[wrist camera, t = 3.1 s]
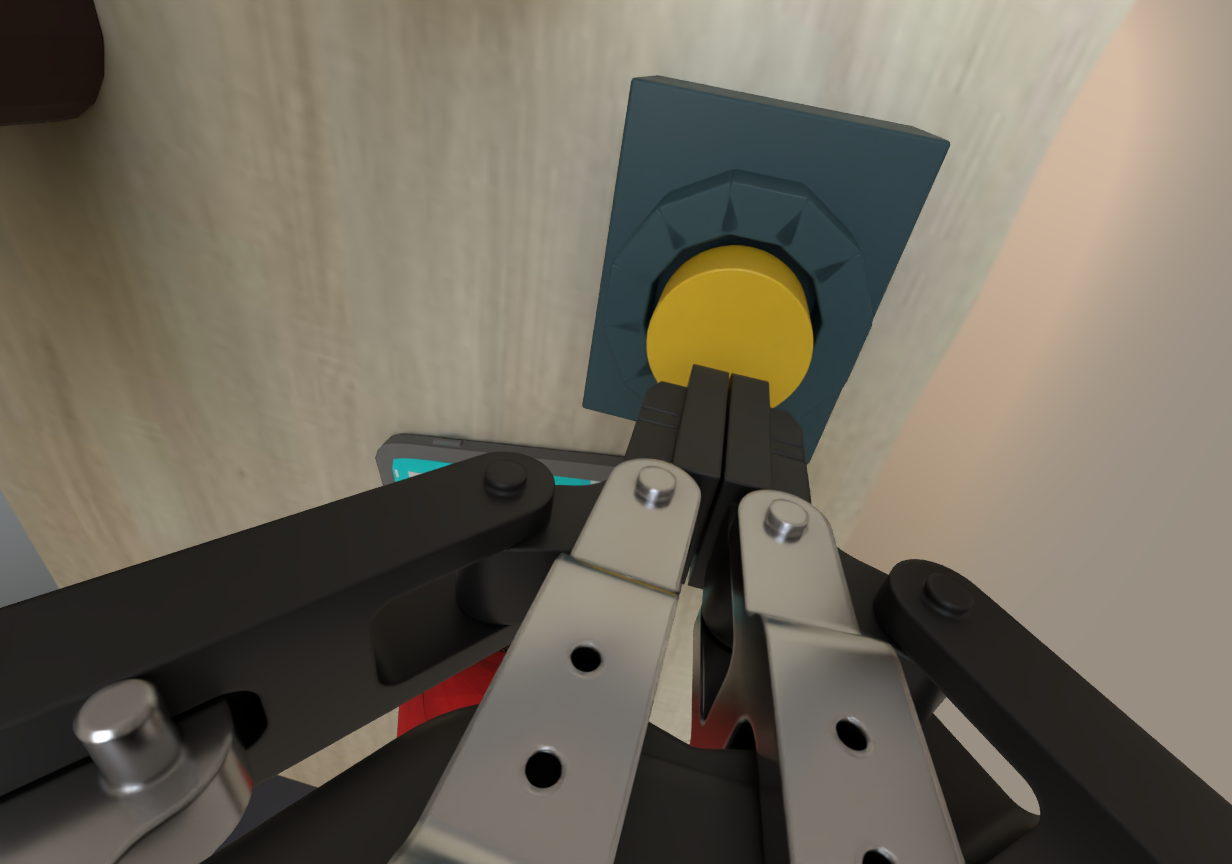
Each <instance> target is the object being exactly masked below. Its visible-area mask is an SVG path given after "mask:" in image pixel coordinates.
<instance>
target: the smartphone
mask: <svg viewBox="0 0 1232 864" xmlns="http://www.w3.org/2000/svg"><path fill="white" fill-rule="evenodd" d="M503 451H506V452H515V453H521V454H524V455H528V456H530V457H533V458H535V459H537V460H538V461H540V462H542V463H543V464H544V465H545V466H547V468H548V469H549V470H550V471H551V473H552V475H553V476H554V480H555V485H589V484H595V483H599V482H602V481H604V480H607V479H608V478H609V475H610V473H611V472H612V470H613V469H614V468H615V467H616V466H617V465H619V464H621V463H622V462H623V460H624V457H615V456H606V455H596V454H587V453H578V452H568V451H559V450H550V449H540V448H531V447H522V446H512V445H503V444H494V443H484V442H475V441H466V440H456V439H447V438H438V437H428V436H419V435H396V436H391V437H390V438H389V439H388V440H387V441H386V442H385V443H384V444H383V445H382V446H381V447H380V448H379V449H378V451H377V454H376V457H375V459H376V462H377V466H378V469H379V472H380V476H381V479H382V483H383V486H384V485H387V484H391V483H394V482H397V481H400V480H403V479H406V478H409V477H413V476H416V475H419V474H422V473H425V472H428V471H431V470H434V469H438V468H441V467H444V466H447V465H450V464H453V463H456V462H460V461H463V460H466V459H469V458H472V457H475V456H478V455H482V454H486V453H490V452H503ZM681 586H682V584H681V583H680V585H679V589H678V591H679V592H681Z"/></svg>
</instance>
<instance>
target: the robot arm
mask: <svg viewBox="0 0 1232 864" xmlns="http://www.w3.org/2000/svg"><path fill="white" fill-rule="evenodd" d="M803 446H804V441H803V434H802V428H801V427H800V426H799V424H798V423H797V422H796V420H795V419H794V418H793V416H792V415H791V414H790V412H788V411H783V410H779V409H775V408H771V407H770V393H769V382H768V381H764V380H760V379H756V378H752V377H748V376H744V375H739V374H735V373H731V375H730V378H729V372H727V371H722V370H718V369H714V368H710V367H706V366H702V365H697V364H693V366H692V370H691V373H690V377H689V381H688V384H687V387H685V386H681V385H677V384H672V383H668V382H664V381H660V382H659V383H658V384H656V385H655V386H653V387H652V388H650V389H649V390H647V392H646V395H645V398H644V401H643V404H642V408H641V410H640V413H639V416H638V420H637V422H636V425H635V428H634V431H633V434H632V437H631V440H630V442H629V445H628V448H627V451H626V454H625V457H624V460H623V462H622V463H621V464H619V465H617V466H616V467H615V468H614V469H613V470H612V472H611V473H610V475H609V478H608V479H607V480H604V481H602V482H599V483H595V484H589V485H555V480H554V476H553V475H552V473H551V471H550V470H549V469H548V468H547V466H545V465H544V464H543V463H542V462H540V461H538V460H537V459H535V458H533V457H530V456H528V455H524V454H521V453H515V452H506V451H503V452H490V453H486V454H482V455H478V456H475V457H472V458H469V459H466V460H463V461H460V462H456V463H453V464H450V465H447V466H444V467H441V468H438V469H434V470H431V471H428V472H425V473H422V474H419V475H416V476H413V477H409V478H406V479H403V480H400V481H397V482H394V483H391V484H387V485H384V486H381V487H378V488H375V489H372V490H369V491H365V492H362V493H359V494H356V495H353V496H350V497H347V498H344V499H340V500H337V501H334V502H331V503H328V504H325V505H322V506H318V507H315V508H312V509H309V510H306V511H303V512H300V513H297V514H293V515H290V516H287V517H284V518H281V519H278V520H275V521H271V522H268V523H265V524H262V525H259V526H256V527H253V528H249V529H246V530H243V531H240V532H237V533H234V534H231V535H228V536H224V537H221V538H218V539H215V540H212V541H209V542H206V543H202V544H199V545H196V546H193V547H190V548H187V549H184V550H180V551H177V552H174V553H171V554H168V555H165V556H162V557H159V558H155V559H152V560H149V561H146V562H143V563H140V564H137V565H133V566H130V567H127V568H124V569H121V570H118V571H115V572H111V573H108V574H105V575H102V576H99V577H96V578H93V579H90V580H86V581H83V582H80V583H77V584H74V585H71V586H68V587H64V588H61V589H58V590H55V591H52V592H49V593H46V594H43V595H40V596H36V597H33V598H30V599H27V600H24V601H21V602H17V603H15V604H11V605H8V606H5V607H2V608H0V864H1232V805H1231V804H1230V803H1229V802H1228V801H1226V800H1225V799H1224V798H1223V797H1222V796H1221V795H1219V794H1218V793H1217V792H1216V791H1215V790H1214V789H1212V788H1211V787H1210V786H1209V785H1208V784H1206V783H1205V782H1204V781H1203V780H1202V779H1201V778H1200V777H1198V776H1197V775H1196V774H1195V773H1194V772H1192V771H1191V770H1190V769H1189V768H1188V767H1187V766H1186V765H1184V764H1183V763H1182V762H1181V761H1180V760H1179V759H1177V758H1176V757H1175V756H1174V755H1173V754H1172V753H1170V752H1169V751H1168V750H1167V749H1166V748H1165V747H1163V746H1162V745H1161V744H1160V743H1159V742H1157V741H1156V740H1155V739H1154V738H1153V737H1152V736H1150V735H1149V734H1148V733H1147V732H1146V731H1145V730H1144V729H1142V728H1141V727H1140V726H1139V725H1138V724H1137V723H1135V722H1134V721H1133V720H1132V719H1131V718H1129V717H1128V716H1127V715H1126V714H1125V713H1124V712H1123V711H1121V710H1120V709H1119V708H1118V707H1117V706H1116V705H1114V704H1113V703H1112V702H1111V701H1110V700H1109V699H1107V698H1106V697H1105V696H1104V695H1103V694H1102V693H1100V692H1099V691H1098V690H1097V689H1096V688H1095V687H1093V686H1092V685H1091V684H1090V683H1089V682H1087V681H1086V680H1085V679H1084V678H1083V677H1082V676H1080V675H1079V674H1078V673H1077V672H1076V671H1075V670H1074V669H1072V668H1071V667H1070V666H1069V665H1068V664H1067V663H1065V662H1064V661H1063V660H1062V659H1061V658H1060V657H1058V656H1057V655H1056V654H1055V653H1054V652H1053V651H1051V650H1050V649H1049V648H1048V647H1047V646H1046V645H1044V644H1043V643H1042V642H1041V641H1040V640H1039V639H1037V638H1036V637H1035V636H1034V635H1033V634H1031V633H1030V632H1029V631H1028V630H1027V629H1026V628H1025V627H1023V626H1022V625H1021V624H1020V623H1019V622H1018V621H1016V620H1015V619H1014V618H1013V617H1012V616H1010V615H1009V614H1008V613H1007V612H1006V611H1005V610H1004V609H1002V608H1001V607H1000V606H999V605H998V604H997V603H995V602H994V601H993V600H992V599H991V598H990V597H988V596H987V595H986V594H985V593H984V592H982V591H981V590H980V589H979V588H978V587H976V585H974V584H973V583H972V582H971V581H969V580H968V579H966V578H965V577H963V576H962V575H960V574H959V573H957V572H955V571H953V570H951V569H949V568H947V567H945V566H943V565H940V564H937V563H934V562H930V561H926V560H919V559H909V560H905V561H901V562H899V563H897V564H896V565H895V566H894V567H893V569H892V570H891V572H890V574H889V575H888V574H886V573H883V572H881V571H880V570H878V569H876V568H873V567H871V566H869V565H867V564H865V563H863V562H861V561H859V560H857V559H855V558H853V557H852V556H850V555H848V554H847V553H845V552H844V551H842V550H841V549H839V548H838V547H837V545H836V541H835V538H834V534H833V531H832V528H831V525H830V524H829V522H828V520H827V519H826V518H825V517H824V515H823V514H822V513H821V512H820V511H819V510H818V509H817V508H815V507H814V506H813V505H812V504H811V496H810V488H809V480H808V473H807V465H806V462H805V459H806V457H805V449H804V448H803ZM690 565H691V566H690ZM689 568H690V574H689V581H688V585H689V586H693V587H696V588H700V589H703V599H702V605H701V608H700V610H699V613H698V616H697V618H696V621H695V624H694V630H693V679H692V728H691V741H690V745H689V744H687V743H685V742H683V741H681V740H680V739H678V738H676V737H674V736H673V735H671V734H669V733H667V732H666V731H664V730H662V729H660V728H659V727H657V726H655V725H654V724H652V723H650V722H649V718H650V714H651V709H652V705H653V701H654V697H655V693H656V689H657V685H658V681H659V677H660V673H661V669H662V665H663V661H664V657H665V653H666V649H667V645H668V641H669V637H670V633H671V629H672V625H673V620H674V616H675V612H676V608H677V604H678V600H679V594H680V592H679V591H678V589H679V585H680V583H681V584H684V583H685V580H686V577H687V574H688V571H689ZM509 644H511V645H510V647H509V649H508V651H507V653H506V655H505V656H504V658H503V660H502V662H501V664H500V666H499V668H498V670H497V672H496V674H495V675H494V677H493V679H492V681H491V683H490V685H489V687H488V689H487V691H486V693H485V695H484V696H483V698H482V700H481V702H480V704H476V705H471V706H467V707H462V708H459V709H456V710H453V711H450V712H447V713H444V714H441V715H438V716H436V717H434V718H432V719H430V720H428V721H426V722H424V723H422V724H419V725H417V726H416V727H414V728H412V729H411V730H409V731H407V732H405V733H404V734H402V735H401V736H399V737H397V738H396V739H394V740H393V741H391V742H390V743H388V744H386V745H385V746H383V747H382V748H380V749H378V750H377V751H375V752H374V753H372V754H371V755H369V756H367V757H366V758H364V759H363V760H361V761H360V762H358V763H356V764H355V765H353V766H352V767H350V768H349V769H347V770H345V771H344V772H342V773H341V774H339V775H338V776H336V777H334V778H333V779H331V780H330V781H328V782H327V783H325V784H323V785H322V786H320V787H319V788H317V789H316V790H314V791H312V792H311V793H309V794H308V795H306V796H305V797H303V798H301V799H300V800H298V801H297V802H295V803H294V804H292V805H290V806H289V807H287V808H286V809H284V810H283V811H281V812H279V813H278V814H276V815H275V816H273V817H271V818H270V819H268V820H267V821H265V822H264V823H262V824H261V825H259V826H258V827H256V828H254V829H253V830H251V831H250V832H248V833H247V834H245V835H243V836H242V837H240V838H239V839H237V840H235V841H234V842H232V843H230V844H229V845H227V846H226V847H224V848H223V849H221V850H220V851H218V852H216V853H215V854H213V855H212V853H213V852H214V851H215V850H216V849H217V848H218V847H219V846H220V845H221V844H222V843H223V842H224V840H226V838H227V837H228V836H229V835H230V834H231V833H232V831H233V830H234V828H235V827H236V825H237V824H238V823H239V821H240V819H241V817H242V815H243V813H244V811H245V810H246V808H247V805H248V802H249V799H250V797H251V792H252V788H254V787H255V786H257V785H259V784H261V783H263V782H264V781H266V780H268V779H270V778H272V777H273V776H275V775H277V774H279V773H281V772H282V771H284V770H286V769H288V768H290V767H291V766H293V765H295V764H297V763H299V762H300V761H302V760H304V759H306V758H308V757H309V756H311V755H313V754H315V753H316V752H318V751H320V750H322V749H324V748H325V747H327V746H329V745H331V744H333V743H334V742H336V741H338V740H340V739H341V738H343V737H345V736H347V735H349V734H350V733H352V732H354V731H356V730H358V729H359V728H361V727H363V726H365V725H366V724H368V723H370V722H372V721H374V720H375V719H377V718H379V717H381V716H383V715H384V714H386V713H388V712H390V711H391V710H393V709H395V708H397V707H399V706H400V705H402V704H404V703H406V702H408V701H409V700H411V699H413V698H415V697H416V696H418V695H420V694H422V693H424V692H425V691H427V690H429V689H431V688H433V687H434V686H436V685H438V684H440V683H441V682H443V681H445V680H447V679H449V678H450V677H452V676H454V675H456V674H458V673H459V672H461V671H463V670H465V669H466V668H468V667H470V666H472V665H474V664H475V663H477V662H479V661H481V660H483V659H484V658H486V657H488V656H490V655H491V654H493V653H495V652H497V651H499V650H500V649H502V648H504V647H506V646H508V645H509ZM946 697H947V698H948V699H949V700H950V701H951V702H952V703H953V704H954V705H955V706H956V707H957V708H958V709H959V710H960V711H961V712H962V713H963V714H964V716H965V717H966V718H967V719H968V720H969V721H970V722H971V723H972V724H973V725H974V726H975V727H976V728H977V729H978V730H979V731H980V733H982V735H983V736H984V737H985V738H986V739H987V740H988V741H989V742H990V743H991V744H992V745H993V746H994V747H995V748H996V749H997V750H998V752H999V753H1000V754H1001V755H1002V756H1003V757H1004V758H1005V759H1006V760H1007V761H1008V762H1009V763H1010V764H1011V765H1012V766H1013V767H1014V768H1015V769H1016V771H1017V772H1018V773H1019V774H1020V775H1021V776H1022V777H1023V778H1024V779H1025V780H1026V782H1027V783H1028V784H1029V786H1030V787H1031V788H1032V790H1033V792H1034V794H1035V795H1036V798H1037V800H1038V803H1039V807H1040V815H1035V814H1032V813H1030V812H1028V811H1026V810H1024V809H1023V808H1021V807H1020V806H1018V805H1017V804H1016V803H1015V802H1014V801H1013V800H1012V799H1011V798H1010V797H1009V796H1008V795H1007V794H1006V793H1005V792H1004V791H1003V790H1002V788H1001V787H1000V786H999V785H998V784H997V783H996V782H995V781H994V780H993V779H992V777H991V776H989V774H988V773H987V772H986V771H985V770H984V769H983V768H982V767H981V765H979V763H978V762H977V761H976V760H975V759H974V758H973V757H972V755H971V754H970V753H969V752H968V751H967V750H966V749H965V748H964V747H963V746H962V744H961V743H960V742H959V741H958V740H957V739H956V738H955V737H954V736H953V735H952V733H951V732H950V731H949V730H948V729H947V728H946V727H945V726H944V725H943V724H942V722H941V721H940V720H939V719H938V718H937V717H936V716H935V715H934V714H933V712H934V711H935V710H936V709H937V707H938V706H939V705H940V704H941V703H942V702H943V700H944V699H945V698H946ZM211 855H212V856H211Z"/></svg>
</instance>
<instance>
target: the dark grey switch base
mask: <svg viewBox="0 0 1232 864" xmlns="http://www.w3.org/2000/svg"><path fill="white" fill-rule="evenodd" d="M949 147H950V142H949V141H948V140H945V139H943V138H940V137H938V136H935V135H933V134H930V133H928V132H925V131H923V130H920V129H918V128H915V127H912V126H907V125H902V124H897V123H892V122H887V121H882V120H877V119H872V118H867V117H863V116H858V115H853V114H848V113H843V112H838V111H833V110H828V109H823V108H818V107H813V106H808V105H803V104H798V103H793V102H788V101H783V100H778V99H773V98H768V97H763V96H758V95H753V94H748V93H743V92H738V91H733V90H728V89H723V88H718V87H713V86H708V85H703V84H698V83H693V82H688V81H683V80H678V79H673V78H668V77H663V76H658V75H657V76H647V77H637V78H633V79H632V81H631V86H630V93H629V99H628V106H627V113H626V119H625V126H624V133H623V139H622V146H621V152H620V159H619V166H618V172H617V179H616V186H615V192H614V199H613V205H612V212H611V219H610V225H609V232H608V239H607V245H606V252H605V259H604V265H603V272H602V278H601V285H600V292H599V298H598V305H597V312H596V318H595V325H594V331H593V338H592V345H591V351H590V358H589V365H588V371H587V378H586V385H585V391H584V398H583V404H582V405H583V408H586V409H590V410H594V411H598V412H602V413H606V414H610V415H614V416H618V417H621V418H625V419H629V420H633V421H637V420H638V416H639V413H640V410H641V408H642V404H643V401H644V398H645V395H646V392H647V390H649V389H650V388H652V387H653V386H655V385H656V384H658V382H657V380H656V379H655V377H654V375H653V373H652V370H651V368H650V365H649V361H648V357H647V350H646V339H647V331H648V327H649V323H650V320H651V318H652V315H653V313H654V311H655V308H656V306H657V304H658V301H659V299H660V297H661V294H662V292H663V290H664V288H665V285H666V284H667V282H668V281H669V279H670V277H671V276H672V275H673V274H674V272H675V271H676V270H677V269H678V268H679V267H680V266H681V265H682V264H683V263H685V262H686V261H687V260H689V259H690V258H692V257H693V256H695V255H697V254H699V253H701V252H703V251H706V250H709V249H711V248H716V247H720V246H728V245H743V246H749V247H754V248H757V249H761V250H763V251H766V252H768V253H770V254H772V255H774V256H775V257H777V258H778V259H780V260H781V261H782V262H784V263H785V264H786V265H787V266H788V267H789V268H790V269H791V270H792V271H793V273H794V274H795V275H796V277H797V278H798V280H799V281H800V283H801V286H802V288H803V290H804V293H805V296H806V300H807V305H808V310H809V315H810V320H811V325H812V331H813V353H812V359H811V362H810V365H809V368H808V371H807V373H806V375H805V377H804V379H803V380H802V382H801V383H800V385H799V386H798V387H797V388H796V390H795V391H794V392H793V393H792V394H791V395H790V396H789V397H788V398H787V399H785V400H784V401H783V402H782V403H780V404H779V405H777V406H776V407H774V408H775V409H779V410H783V411H788V412H790V414H791V415H792V416H793V418H794V419H795V420H796V422H797V423H798V424H799V426H800V427H801V428H802V434H803V441H804V446H803V448H804V449H805V457H806V459H805V462H806V464H809V462H810V460H811V458H812V455H813V453H814V451H815V449H816V446H817V444H818V442H819V440H820V437H821V435H822V433H823V431H824V428H825V426H826V424H827V422H828V419H829V417H830V415H831V413H832V410H833V408H834V406H835V404H836V401H837V399H838V397H839V395H840V392H841V390H842V388H843V387H844V384H845V383H846V382H847V380H848V378H849V376H850V373H851V371H852V369H853V367H854V365H855V362H856V360H857V358H858V356H859V353H860V351H861V349H862V347H863V344H864V342H865V340H866V338H867V335H868V333H869V331H870V329H871V326H872V322H873V318H874V316H875V314H876V311H877V309H878V307H879V305H880V302H881V300H882V298H883V296H884V293H885V291H886V289H887V287H888V284H889V282H890V280H891V278H892V275H893V273H894V271H895V269H896V266H897V264H898V262H899V260H900V257H901V255H902V253H903V251H904V248H905V246H906V244H907V242H908V239H909V237H910V235H911V232H912V230H913V228H914V226H915V223H916V221H917V219H918V217H919V214H920V212H921V210H922V208H923V205H924V203H925V201H926V199H927V196H928V194H929V192H930V190H931V187H932V185H933V183H934V181H935V178H936V176H937V174H938V172H939V169H940V167H941V165H942V163H943V160H944V158H945V156H946V154H947V151H948V149H949Z"/></svg>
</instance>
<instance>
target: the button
mask: <svg viewBox="0 0 1232 864" xmlns="http://www.w3.org/2000/svg"><path fill="white" fill-rule="evenodd" d="M646 350H647V357H648V361H649V365H650V368H651V370H652V373H653V375H654V377H655V379H656V380H657V382H658V383H659V382H660V381H664V382H668V383H672V384H677V385H681V386H685V387H687V384H688V381H689V377H690V373H691V370H692V366H693V364H697V365H702V366H706V367H710V368H714V369H718V370H722V371H727V372H729V378H730V375H731V373H735V374H739V375H744V376H748V377H752V378H756V379H760V380H764V381H768V382H769V393H770V407H771V408H774V407H776V406H777V405H779V404H780V403H782V402H783V401H784V400H785V399H787V398H788V397H789V396H790V395H791V394H792V393H793V392H794V391H795V390H796V388H797V387H798V386H799V385H800V383H801V382H802V380H803V379H804V377H805V375H806V373H807V371H808V368H809V365H810V362H811V359H812V353H813V331H812V325H811V320H810V315H809V310H808V305H807V300H806V296H805V293H804V290H803V288H802V286H801V283H800V281H799V280H798V278H797V277H796V275H795V274H794V273H793V271H792V270H791V269H790V268H789V267H788V266H787V265H786V264H785V263H784V262H782V261H781V260H780V259H778V258H777V257H775V256H774V255H772V254H770V253H768V252H766V251H763V250H761V249H757V248H754V247H749V246H743V245H728V246H720V247H716V248H711V249H709V250H706V251H703V252H701V253H699V254H697V255H695V256H693V257H692V258H690V259H689V260H687V261H686V262H685V263H683V264H682V265H681V266H680V267H679V268H678V269H677V270H676V271H675V272H674V274H673V275H672V276H671V277H670V279H669V281H668V282H667V284H666V285H665V288H664V290H663V292H662V294H661V297H660V299H659V301H658V304H657V306H656V308H655V311H654V313H653V315H652V318H651V320H650V323H649V327H648V331H647V339H646Z"/></svg>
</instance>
